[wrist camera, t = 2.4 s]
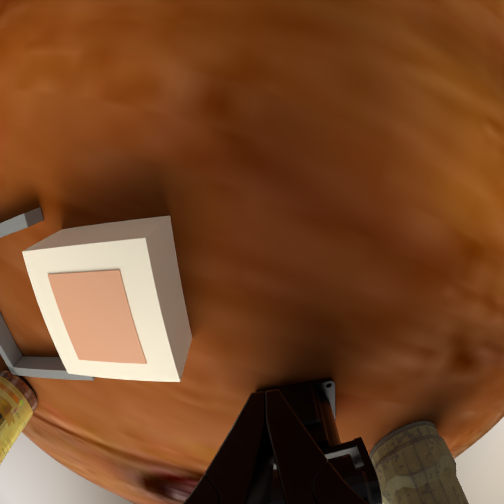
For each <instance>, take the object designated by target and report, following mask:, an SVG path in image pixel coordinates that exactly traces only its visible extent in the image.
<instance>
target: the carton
mask: <svg viewBox="0 0 504 504" xmlns="http://www.w3.org/2000/svg"><path fill="white" fill-rule="evenodd" d="M22 253H23V257H24V260H25V264H26V267H27V271H28V274H29V277H30V281H31V284H32V287H33V290H34V293H35V296H36V299H37V302H38V304H39V307H40V310H41V313H42V315H43V318H44V320H45V323H46V325H47V328H48V330H49V333H50V335H51V338H52V340H53V342H54V344H55V347H56V349H57V351H58V353H59V356H60V358H61V360H62V362H63V364H64V366H65V368H66V370H67V372H68V374H76V375H84V376H93V377H102V378H113V379H126V380H142V381H166V382H180V381H181V377H182V373H183V370H184V366H185V362H186V359H187V355H188V351H189V348H190V344H191V340H192V335H191V330H190V325H189V320H188V316H187V311H186V306H185V301H184V295H183V290H182V285H181V279H180V274H179V268H178V262H177V256H176V250H175V244H174V238H173V231H172V225H171V218H170V216H161V217H152V218H143V219H135V220H127V221H119V222H111V223H103V224H96V225H89V226H81V227H74V228H68V229H62V230H60V231H58V232H56V233H54V234H52V235H51V236H49V237H47V238H45V239H43V240H42V241H40V242H38V243H36V244H34V245H33V246H31V247H29V248H28V249H26V250H24V251H22Z"/></svg>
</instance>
